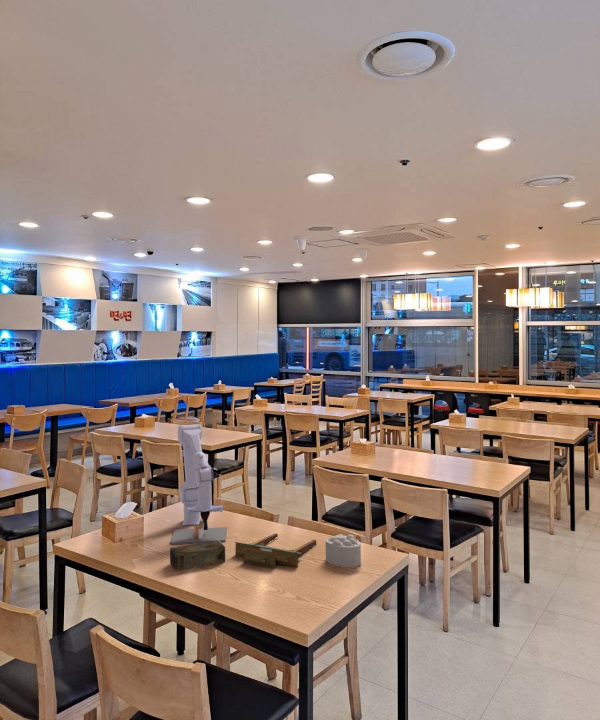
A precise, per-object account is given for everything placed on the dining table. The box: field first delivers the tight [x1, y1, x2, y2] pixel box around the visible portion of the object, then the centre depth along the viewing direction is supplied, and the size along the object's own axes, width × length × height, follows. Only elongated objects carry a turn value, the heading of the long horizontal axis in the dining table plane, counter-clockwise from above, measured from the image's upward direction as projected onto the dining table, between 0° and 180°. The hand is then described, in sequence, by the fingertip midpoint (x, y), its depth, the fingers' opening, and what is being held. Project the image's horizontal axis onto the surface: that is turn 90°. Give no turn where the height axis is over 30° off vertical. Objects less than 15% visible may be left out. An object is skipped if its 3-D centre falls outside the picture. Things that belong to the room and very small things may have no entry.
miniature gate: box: [234, 533, 317, 570], centre depth 205 cm, size 27×6×30 cm
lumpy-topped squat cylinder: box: [325, 533, 362, 568], centre depth 197 cm, size 10×13×9 cm
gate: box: [198, 518, 204, 539], centre depth 226 cm, size 13×2×5 cm, turn 4°
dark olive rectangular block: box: [169, 541, 226, 572], centre depth 197 cm, size 8×19×7 cm, turn 115°
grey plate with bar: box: [169, 525, 228, 546], centre depth 225 cm, size 16×22×7 cm
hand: (205, 529), depth 226 cm, fingers closed
